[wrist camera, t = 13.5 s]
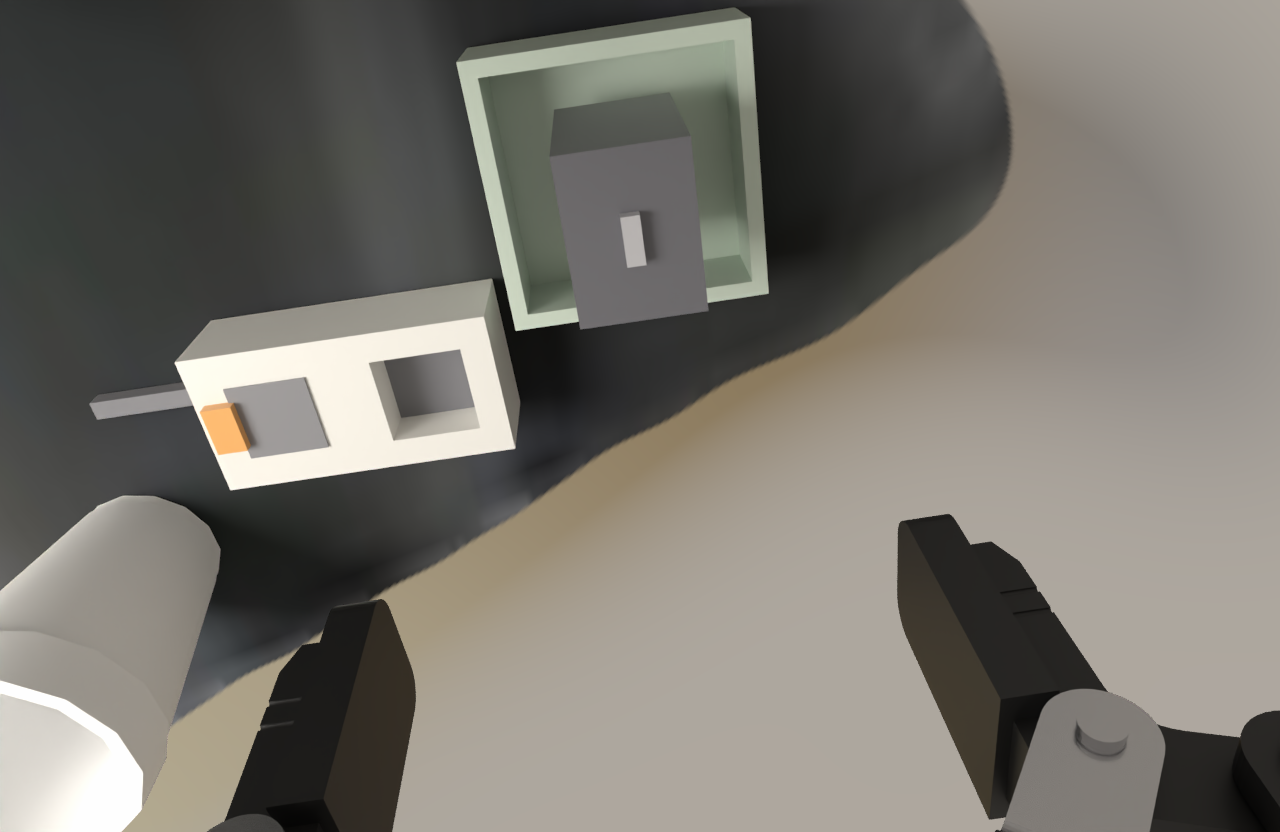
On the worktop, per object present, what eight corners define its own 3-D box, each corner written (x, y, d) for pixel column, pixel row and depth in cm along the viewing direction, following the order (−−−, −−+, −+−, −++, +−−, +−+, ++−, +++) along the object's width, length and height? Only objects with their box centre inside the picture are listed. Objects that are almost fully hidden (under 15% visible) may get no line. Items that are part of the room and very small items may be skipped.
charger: (555, 100, 34) (548, 160, 26) (664, 83, 34) (692, 138, 26) (579, 241, 37) (580, 334, 29) (680, 226, 37) (709, 315, 29)
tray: (467, 47, 33) (456, 62, 30) (734, 7, 33) (750, 17, 30) (520, 297, 38) (515, 330, 35) (753, 262, 38) (768, 293, 35)
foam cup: (191, 650, 47) (70, 886, 36) (13, 560, 43) (-184, 791, 32) (290, 536, 44) (191, 756, 32) (106, 430, 40) (-75, 636, 29)
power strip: (71, 341, 38) (13, 391, 34) (492, 278, 38) (482, 321, 34) (130, 459, 41) (83, 518, 37) (520, 402, 41) (514, 455, 37)
